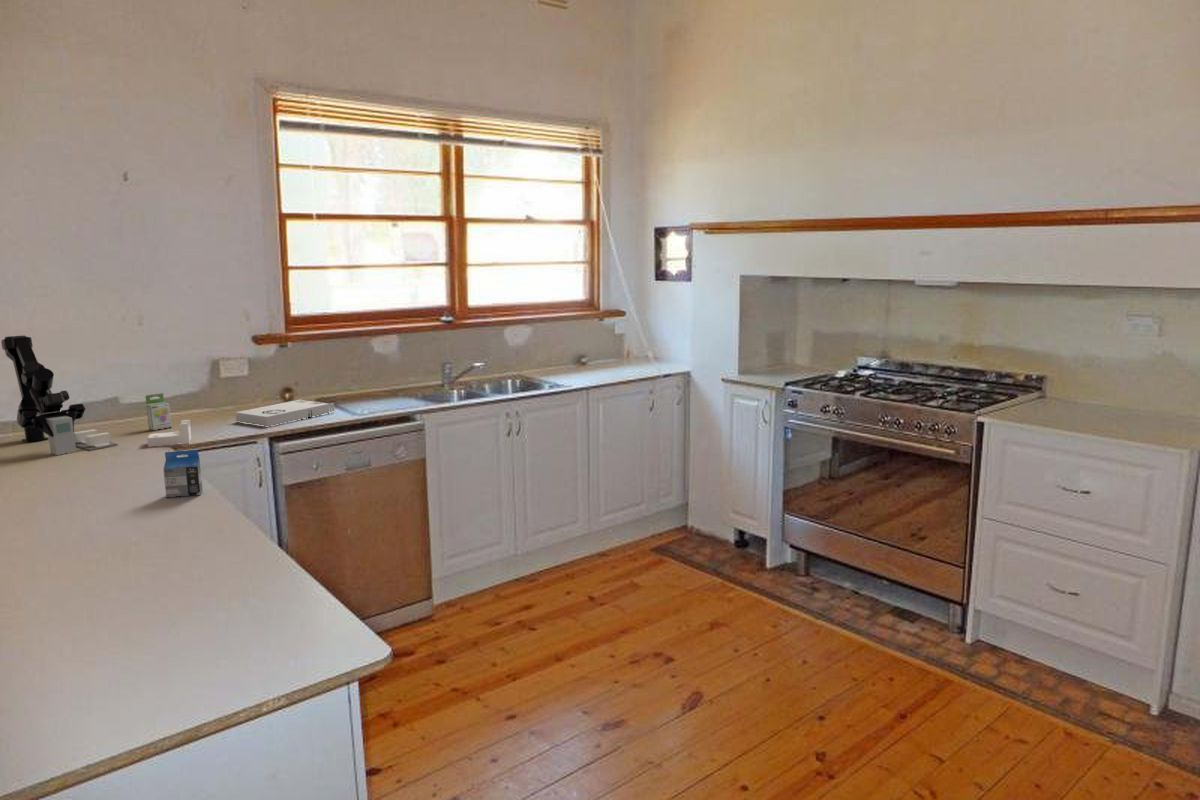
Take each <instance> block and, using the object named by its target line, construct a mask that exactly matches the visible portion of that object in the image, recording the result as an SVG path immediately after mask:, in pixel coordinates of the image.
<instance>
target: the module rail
mask: <svg viewBox="0 0 1200 800" xmlns="http://www.w3.org/2000/svg"><path fill="white" fill-rule="evenodd" d="M74 438H75V445H76V448H79V447H80V448H79V449H82V448H83V449H82V450H87V451H89V450H90V451H89V452H91V450H92V451H96V449H97V450H101V448H102V449H106V448H105V447H108V448H111V447H110V446H113V447H116V446H115V445H119V444H118V443H115V442H112V436H111V433H109V432H107V431H106V432H99V433H98V429H93V428H91V429H86V430H81V431H74Z"/></svg>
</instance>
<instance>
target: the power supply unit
mask: <svg viewBox="0 0 1200 800" xmlns="http://www.w3.org/2000/svg"><path fill="white" fill-rule="evenodd" d="M283 411H285V412H283ZM329 411H330V412H332V411H335V403H334V402H331V403H326V402H318V401H313V400H312V401H310V400H305V399H303V398H301V399H297V400H290V401H285V402H281V403H277V404H271V405H266V406H261V407H260V406H259V407H255V408H251V409H246V410H245V409H244V410H240V411H236V412H235V418H236V419H235V420H236V422H237V421H240V422H246V423H252V424H259V425H264V426H271V425H276V424H280V423H284V422H288V421H293V420H298V419H303V418H307V417H311V418H312V416H317V415H321V414H324V413H329ZM308 412H309V413H308ZM335 412H336V411H335Z"/></svg>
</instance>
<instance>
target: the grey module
mask: <svg viewBox="0 0 1200 800" xmlns="http://www.w3.org/2000/svg"><path fill="white" fill-rule="evenodd" d="M46 420H47V424H48V425H49V427H50V429H51V430H52V433H53V437H51V436H49V435H48V438H49V439H48V441H49V449H50V454H51V453H52V454H51V455H53V454H55V455H54V456H56V455H58V456H61V455H60V454H64V455H66V454H65V453H69V454H72V453H71V452H74V453H77V447H76V445H75V438H74V432H75V429H74V430H73V422H72V417H68V416H63V417H56V418H50V419H46Z"/></svg>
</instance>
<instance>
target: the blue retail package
mask: <svg viewBox="0 0 1200 800" xmlns="http://www.w3.org/2000/svg"><path fill="white" fill-rule="evenodd" d="M182 455H183V456H182ZM164 456H165V462H164V464H163V465H164V467H163V476H164V486H165V497H170V498H179V497H178V496H181V497H190V496H191V495H193V496H200V494H201V495H202V494H203V492H202V491H203V480H202V472H201V462H200V461H201V459H200V454H199V450H198V449H191V450H178V451H165V452H164ZM177 456H179V457H177ZM176 496H177V497H176ZM191 497H192V496H191Z"/></svg>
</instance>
